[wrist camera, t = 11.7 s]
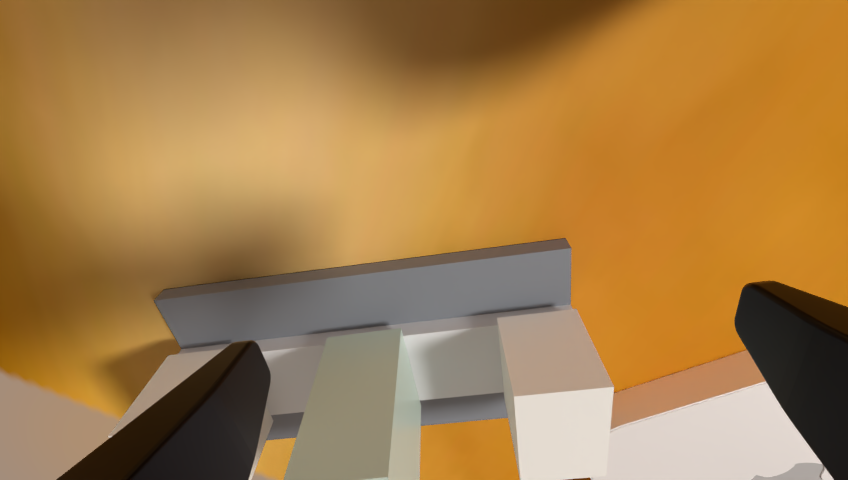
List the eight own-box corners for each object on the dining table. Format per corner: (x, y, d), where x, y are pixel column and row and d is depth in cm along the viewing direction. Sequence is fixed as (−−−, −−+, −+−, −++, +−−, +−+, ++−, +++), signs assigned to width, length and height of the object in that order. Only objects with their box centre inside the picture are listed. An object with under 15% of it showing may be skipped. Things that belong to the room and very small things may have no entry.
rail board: (565, 238, 22) (618, 329, 16) (564, 398, 27) (603, 511, 21) (163, 289, 24) (70, 389, 17) (241, 429, 29) (191, 542, 23)
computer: (928, 490, 33) (967, 528, 30) (641, 556, 38) (655, 593, 35) (942, 279, 23) (1000, 311, 21) (558, 405, 28) (569, 442, 26)
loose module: (401, 328, 22) (387, 477, 15) (421, 405, 25) (417, 561, 18) (327, 337, 23) (281, 487, 16) (355, 412, 25) (327, 568, 18)
